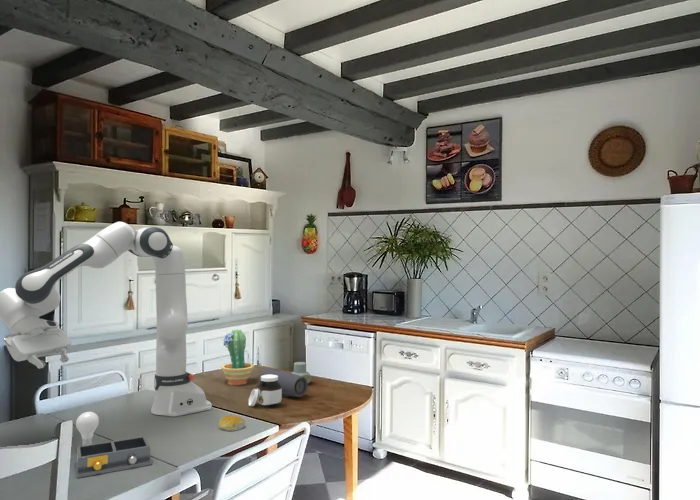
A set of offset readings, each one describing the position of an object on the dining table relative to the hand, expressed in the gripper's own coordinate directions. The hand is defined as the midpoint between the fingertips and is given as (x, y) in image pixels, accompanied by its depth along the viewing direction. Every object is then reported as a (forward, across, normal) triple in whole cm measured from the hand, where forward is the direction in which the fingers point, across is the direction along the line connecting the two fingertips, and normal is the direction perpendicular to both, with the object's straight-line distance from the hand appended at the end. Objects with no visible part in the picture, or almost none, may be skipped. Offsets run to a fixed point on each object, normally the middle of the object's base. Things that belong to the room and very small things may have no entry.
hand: (54, 364), depth 161 cm
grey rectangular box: (+38, -8, -3) cm, 39 cm away
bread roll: (+51, +29, -15) cm, 61 cm away
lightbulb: (+27, 0, +9) cm, 28 cm away
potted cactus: (+32, +88, +2) cm, 93 cm away
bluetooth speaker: (+52, +74, -17) cm, 92 cm away
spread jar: (+51, +56, -16) cm, 78 cm away
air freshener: (+53, +93, -18) cm, 109 cm away
